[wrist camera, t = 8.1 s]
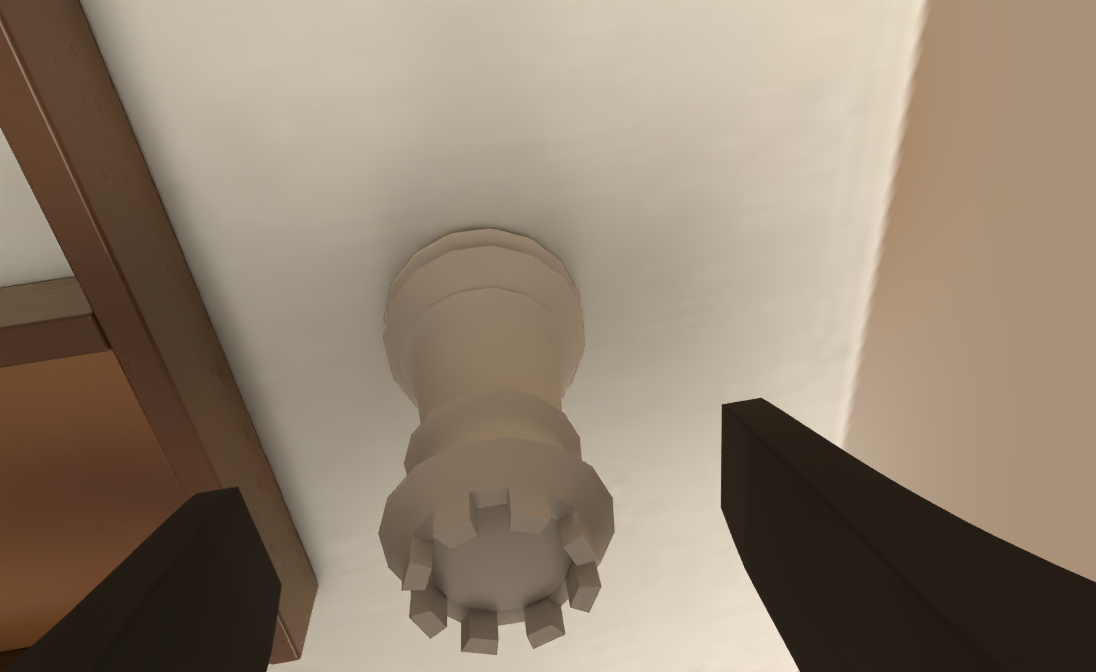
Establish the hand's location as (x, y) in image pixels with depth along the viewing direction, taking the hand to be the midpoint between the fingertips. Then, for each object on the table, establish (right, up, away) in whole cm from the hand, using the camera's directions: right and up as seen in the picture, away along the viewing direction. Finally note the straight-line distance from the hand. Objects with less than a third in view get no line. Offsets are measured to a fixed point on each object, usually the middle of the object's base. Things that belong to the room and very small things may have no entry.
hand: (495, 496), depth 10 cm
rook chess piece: (-1, +3, +6) cm, 6 cm away
